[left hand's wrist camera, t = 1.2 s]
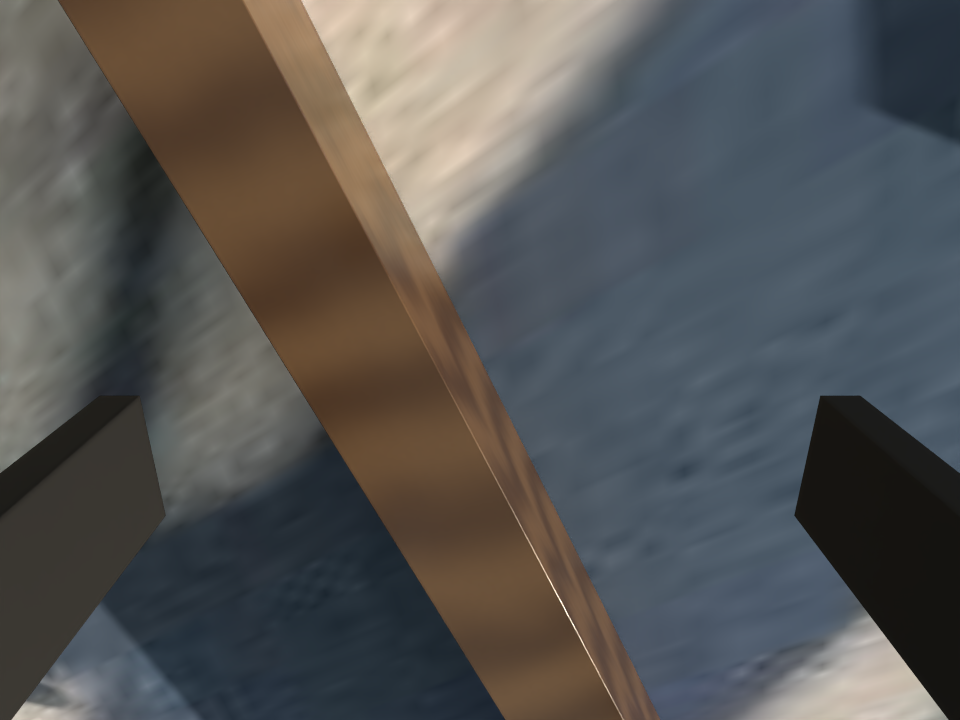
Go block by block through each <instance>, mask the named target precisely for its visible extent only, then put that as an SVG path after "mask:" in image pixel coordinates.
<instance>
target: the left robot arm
mask: <svg viewBox="0 0 960 720" xmlns="http://www.w3.org/2000/svg"><path fill="white" fill-rule="evenodd" d="M165 516H166V515H165V510H164V506H163V501H162V497H161V492H160V487H159V483H158V478H157V474H156V469H155V464H154V460H153V455H152V451H151V446H150V441H149V437H148V432H147V428H146V423H145V418H144V414H143V409H142V405H141V400H140V396H99V397H98V398H96V399H95V400H94V401H93V402H91V403H90V404H89V405H87V406H86V407H85V408H84V409H82V410H81V411H80V412H78V413H77V414H76V415H75V416H73V417H72V418H71V419H69V420H68V421H67V422H66V423H64V424H63V425H62V426H60V427H59V428H58V429H57V430H55V431H54V432H53V433H51V434H50V435H49V436H48V437H46V438H45V439H44V440H42V441H41V442H40V443H39V444H37V445H36V446H35V447H34V448H32V449H31V450H30V451H28V452H27V453H26V454H25V455H23V456H22V457H21V458H19V459H18V460H17V461H16V462H14V463H13V464H12V465H10V466H9V467H8V468H7V469H5V470H4V471H3V472H1V473H0V720H12V718H13V717H14V716H15V714H16V713H17V712H18V710H19V709H20V708H21V706H22V705H23V704H24V702H25V701H26V700H27V698H28V697H29V696H30V694H31V693H32V692H33V690H34V689H35V688H36V686H37V685H38V684H39V682H40V681H41V680H42V678H43V677H44V676H45V675H46V673H47V672H48V671H49V669H50V668H51V667H52V665H53V664H54V663H55V661H56V660H57V659H58V657H59V656H60V655H61V653H62V652H63V651H64V649H65V648H66V647H67V645H68V644H69V643H70V641H71V640H72V639H73V637H74V636H75V635H76V633H77V632H78V631H79V630H80V628H81V627H82V626H83V624H84V623H85V622H86V620H87V619H88V618H89V616H90V615H91V614H92V612H93V611H94V610H95V608H96V607H97V606H98V604H99V603H100V602H101V600H102V599H103V598H104V596H105V595H106V594H107V592H108V591H109V590H110V588H111V587H112V586H113V584H114V583H115V582H116V581H117V579H118V578H119V577H120V575H121V574H122V573H123V571H124V570H125V569H126V567H127V566H128V565H129V563H130V562H131V561H132V559H133V558H134V557H135V555H136V554H137V553H138V551H139V550H140V549H141V547H142V546H143V545H144V543H145V542H146V541H147V539H148V538H149V537H150V536H151V534H152V533H153V532H154V530H155V529H156V528H157V526H158V525H159V524H160V522H161V521H162V520H163V518H164V517H165ZM794 516H795V517H796V518H797V520H798V521H799V522H800V524H801V525H802V526H803V528H804V529H805V530H806V532H807V533H808V534H809V536H810V537H811V538H812V539H813V541H814V542H815V543H816V545H817V546H818V547H819V549H820V550H821V551H822V553H823V554H824V555H825V557H826V558H827V559H828V561H829V562H830V563H831V565H832V566H833V567H834V569H835V570H836V571H837V573H838V574H839V575H840V577H841V578H842V579H843V581H844V582H845V583H846V584H847V586H848V587H849V588H850V590H851V591H852V592H853V594H854V595H855V596H856V598H857V599H858V600H859V602H860V603H861V604H862V606H863V607H864V608H865V610H866V611H867V612H868V614H869V615H870V616H871V618H872V619H873V620H874V622H875V623H876V624H877V626H878V627H879V628H880V630H881V631H882V632H883V633H884V635H885V636H886V637H887V639H888V640H889V641H890V643H891V644H892V645H893V647H894V648H895V649H896V651H897V652H898V653H899V655H900V656H901V657H902V659H903V660H904V661H905V663H906V664H907V665H908V667H909V668H910V669H911V671H912V672H913V673H914V675H915V676H916V677H917V678H918V680H919V681H920V682H921V684H922V685H923V686H924V688H925V689H926V690H927V692H928V693H929V694H930V696H931V697H932V698H933V700H934V701H935V702H936V704H937V705H938V706H939V708H940V709H941V710H942V712H943V713H944V714H945V716H946V717H947V718H948V720H960V473H959V472H957V471H956V470H955V469H953V468H952V467H951V466H950V465H948V464H947V463H946V462H944V461H943V460H942V459H941V458H939V457H938V456H937V455H935V454H934V453H933V452H932V451H930V450H929V449H928V448H926V447H925V446H924V445H923V444H921V443H920V442H919V441H918V440H916V439H915V438H914V437H912V436H911V435H910V434H909V433H907V432H906V431H905V430H903V429H902V428H901V427H900V426H898V425H897V424H896V423H894V422H893V421H892V420H891V419H889V418H888V417H887V416H885V415H884V414H883V413H882V412H880V411H879V410H878V409H876V408H875V407H874V406H873V405H871V404H870V403H869V402H867V401H866V400H865V399H864V398H862V397H861V396H820V400H819V405H818V409H817V414H816V418H815V423H814V428H813V432H812V437H811V441H810V446H809V451H808V455H807V460H806V464H805V469H804V474H803V478H802V483H801V487H800V492H799V497H798V501H797V506H796V510H795V515H794Z"/></svg>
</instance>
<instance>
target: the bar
mask: <svg viewBox="0 0 960 720" xmlns="http://www.w3.org/2000/svg"><path fill="white" fill-rule="evenodd" d="M58 1H59V3H60V4H61V6H62V8H63V9H64V11H65V12H66V14H67V16H68V17H69V19H70V20H71V22H72V24H73V25H74V27H75V29H76V30H77V32H78V33H79V35H80V37H81V38H82V40H83V41H84V43H85V45H86V46H87V48H88V49H89V51H90V53H91V54H92V56H93V57H94V59H95V61H96V62H97V64H98V65H99V67H100V69H101V70H102V72H103V74H104V75H105V77H106V78H107V80H108V82H109V83H110V85H111V86H112V88H113V90H114V91H115V93H116V94H117V96H118V98H119V99H120V101H121V102H122V104H123V106H124V107H125V109H126V111H127V112H128V114H129V115H130V117H131V119H132V120H133V122H134V123H135V125H136V127H137V128H138V130H139V131H140V133H141V135H142V136H143V138H144V139H145V141H146V143H147V144H148V146H149V148H150V149H151V151H152V152H153V154H154V156H155V157H156V159H157V160H158V162H159V164H160V165H161V167H162V168H163V170H164V172H165V173H166V175H167V176H168V178H169V180H170V181H171V183H172V184H173V186H174V188H175V189H176V191H177V193H178V194H179V196H180V197H181V199H182V201H183V202H184V204H185V205H186V207H187V209H188V210H189V212H190V213H191V215H192V217H193V218H194V220H195V221H196V223H197V225H198V226H199V228H200V230H201V231H202V233H203V234H204V236H205V238H206V239H207V241H208V242H209V244H210V246H211V247H212V249H213V250H214V252H215V254H216V255H217V257H218V258H219V260H220V262H221V263H222V265H223V267H224V268H225V270H226V271H227V273H228V275H229V276H230V278H231V279H232V281H233V283H234V284H235V286H236V287H237V289H238V291H239V292H240V294H241V295H242V297H243V299H244V300H245V302H246V304H247V305H248V307H249V308H250V310H251V312H252V313H253V315H254V316H255V318H256V320H257V321H258V323H259V324H260V326H261V328H262V329H263V331H264V332H265V334H266V336H267V337H268V339H269V340H270V342H271V344H272V345H273V347H274V349H275V350H276V352H277V353H278V355H279V357H280V358H281V360H282V361H283V363H284V365H285V366H286V368H287V369H288V371H289V373H290V374H291V376H292V377H293V379H294V381H295V382H296V384H297V386H298V387H299V389H300V390H301V392H302V394H303V395H304V397H305V398H306V400H307V402H308V403H309V405H310V406H311V408H312V410H313V411H314V413H315V414H316V416H317V418H318V419H319V421H320V423H321V424H322V426H323V427H324V429H325V431H326V432H327V434H328V435H329V437H330V439H331V440H332V442H333V443H334V445H335V447H336V448H337V450H338V451H339V453H340V455H341V456H342V458H343V459H344V461H345V463H346V464H347V466H348V468H349V469H350V471H351V472H352V474H353V476H354V477H355V479H356V480H357V482H358V484H359V485H360V487H361V488H362V490H363V492H364V493H365V495H366V496H367V498H368V500H369V501H370V503H371V505H372V506H373V508H374V509H375V511H376V513H377V514H378V516H379V517H380V519H381V521H382V522H383V524H384V525H385V527H386V529H387V530H388V532H389V533H390V535H391V537H392V538H393V540H394V542H395V543H396V545H397V546H398V548H399V550H400V551H401V553H402V554H403V556H404V558H405V559H406V561H407V562H408V564H409V566H410V567H411V569H412V570H413V572H414V574H415V575H416V577H417V578H418V580H419V582H420V583H421V585H422V587H423V588H424V590H425V591H426V593H427V595H428V596H429V598H430V599H431V601H432V603H433V604H434V606H435V607H436V609H437V611H438V612H439V614H440V615H441V617H442V619H443V620H444V622H445V624H446V625H447V627H448V628H449V630H450V632H451V633H452V635H453V636H454V638H455V640H456V641H457V643H458V644H459V646H460V648H461V649H462V651H463V652H464V654H465V656H466V657H467V659H468V661H469V662H470V664H471V665H472V667H473V669H474V670H475V672H476V673H477V675H478V677H479V678H480V680H481V681H482V683H483V685H484V686H485V688H486V689H487V691H488V693H489V694H490V696H491V698H492V699H493V701H494V702H495V704H496V706H497V707H498V709H499V710H500V712H501V714H502V715H503V717H504V718H505V720H660V718H659V716H658V714H657V712H656V710H655V708H654V706H653V704H652V702H651V700H650V698H649V696H648V694H647V692H646V690H645V688H644V686H643V684H642V682H641V680H640V678H639V676H638V674H637V672H636V670H635V668H634V666H633V664H632V662H631V660H630V658H629V656H628V654H627V652H626V650H625V648H624V646H623V644H622V642H621V640H620V638H619V636H618V634H617V632H616V630H615V628H614V626H613V624H612V622H611V620H610V618H609V616H608V614H607V612H606V610H605V608H604V606H603V604H602V602H601V600H600V598H599V596H598V594H597V592H596V590H595V588H594V586H593V584H592V582H591V580H590V578H589V576H588V574H587V572H586V570H585V568H584V566H583V564H582V562H581V560H580V558H579V556H578V554H577V552H576V550H575V548H574V546H573V544H572V542H571V540H570V538H569V536H568V534H567V532H566V530H565V528H564V526H563V524H562V522H561V520H560V518H559V516H558V514H557V512H556V510H555V508H554V506H553V504H552V502H551V500H550V498H549V496H548V494H547V492H546V490H545V488H544V486H543V484H542V482H541V480H540V478H539V476H538V474H537V472H536V470H535V468H534V466H533V464H532V462H531V460H530V458H529V456H528V454H527V452H526V450H525V448H524V446H523V444H522V442H521V440H520V438H519V436H518V434H517V432H516V430H515V428H514V426H513V424H512V422H511V420H510V418H509V416H508V414H507V412H506V410H505V408H504V406H503V404H502V402H501V400H500V398H499V396H498V394H497V392H496V390H495V388H494V386H493V384H492V382H491V380H490V378H489V376H488V374H487V372H486V370H485V368H484V366H483V364H482V362H481V360H480V358H479V356H478V354H477V352H476V350H475V348H474V346H473V344H472V342H471V340H470V338H469V336H468V334H467V332H466V330H465V328H464V326H463V324H462V322H461V320H460V318H459V316H458V314H457V312H456V310H455V308H454V306H453V304H452V302H451V300H450V298H449V296H448V294H447V292H446V290H445V288H444V286H443V284H442V282H441V280H440V278H439V276H438V274H437V272H436V270H435V268H434V266H433V264H432V262H431V260H430V258H429V256H428V254H427V252H426V250H425V248H424V246H423V244H422V242H421V240H420V238H419V236H418V234H417V232H416V230H415V228H414V226H413V224H412V222H411V220H410V218H409V216H408V214H407V212H406V210H405V208H404V206H403V204H402V202H401V200H400V198H399V196H398V194H397V192H396V190H395V188H394V186H393V184H392V182H391V180H390V178H389V176H388V174H387V172H386V170H385V168H384V166H383V164H382V162H381V160H380V158H379V156H378V154H377V152H376V150H375V148H374V146H373V144H372V142H371V140H370V138H369V136H368V134H367V132H366V130H365V128H364V126H363V124H362V122H361V119H360V117H359V115H358V113H357V111H356V109H355V107H354V105H353V103H352V101H351V99H350V97H349V95H348V93H347V91H346V89H345V87H344V85H343V83H342V81H341V79H340V77H339V75H338V73H337V71H336V69H335V67H334V65H333V63H332V61H331V59H330V57H329V55H328V53H327V51H326V49H325V47H324V45H323V43H322V41H321V39H320V37H319V35H318V33H317V31H316V29H315V27H314V25H313V23H312V21H311V19H310V17H309V15H308V13H307V11H306V9H305V7H304V5H303V3H302V1H301V0H58Z"/></svg>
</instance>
